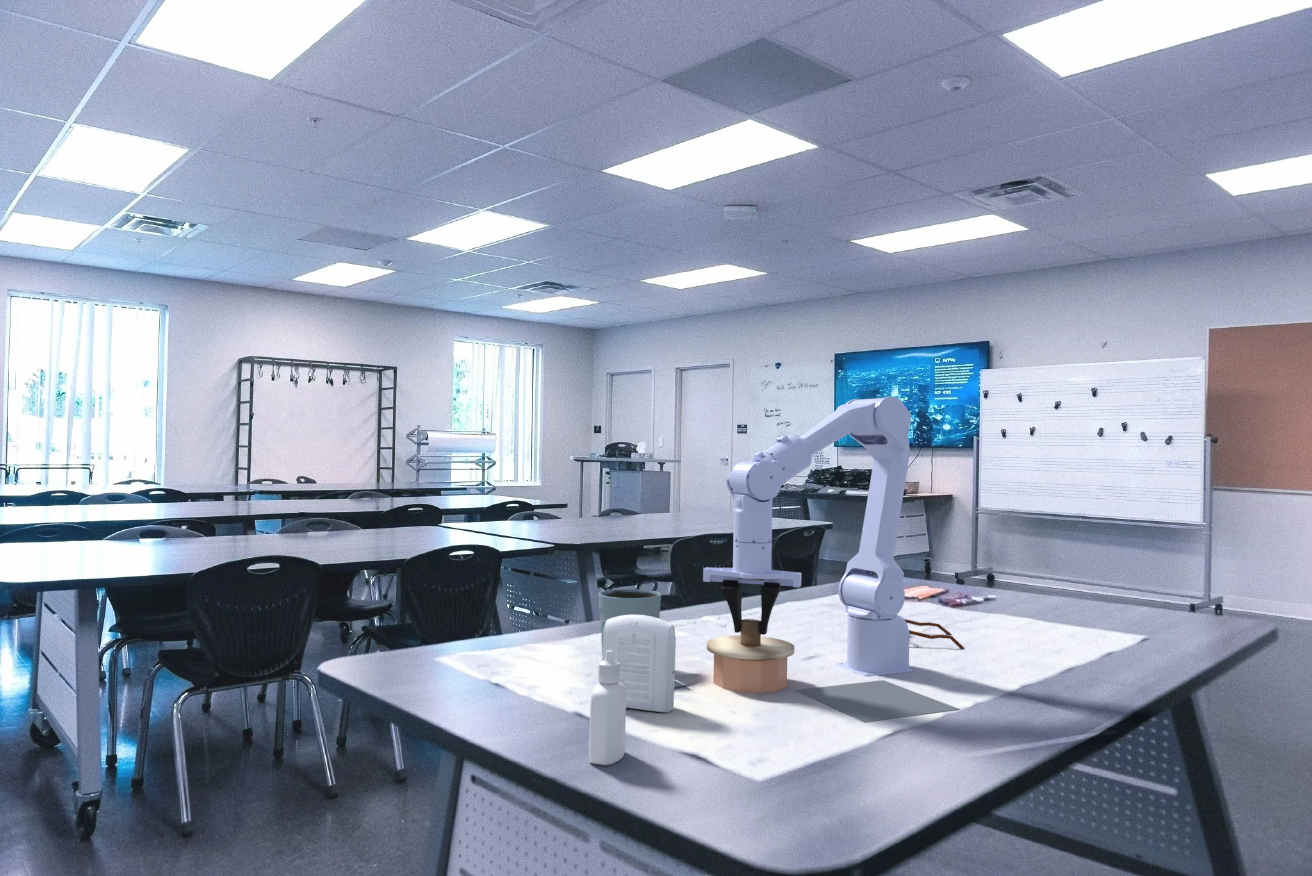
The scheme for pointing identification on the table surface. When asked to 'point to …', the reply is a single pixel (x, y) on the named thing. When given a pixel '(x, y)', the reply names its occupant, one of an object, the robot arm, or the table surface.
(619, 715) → the eye dropper bottle
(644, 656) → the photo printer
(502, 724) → the table surface
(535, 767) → the table surface
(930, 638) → the glasses
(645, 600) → the green plant pot
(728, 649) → the lid
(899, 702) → the mat
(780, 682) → the bowl
